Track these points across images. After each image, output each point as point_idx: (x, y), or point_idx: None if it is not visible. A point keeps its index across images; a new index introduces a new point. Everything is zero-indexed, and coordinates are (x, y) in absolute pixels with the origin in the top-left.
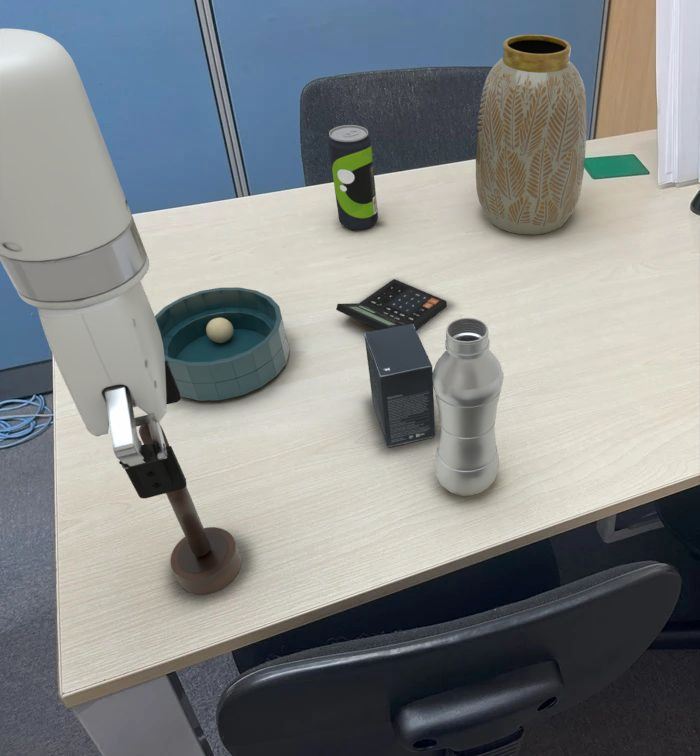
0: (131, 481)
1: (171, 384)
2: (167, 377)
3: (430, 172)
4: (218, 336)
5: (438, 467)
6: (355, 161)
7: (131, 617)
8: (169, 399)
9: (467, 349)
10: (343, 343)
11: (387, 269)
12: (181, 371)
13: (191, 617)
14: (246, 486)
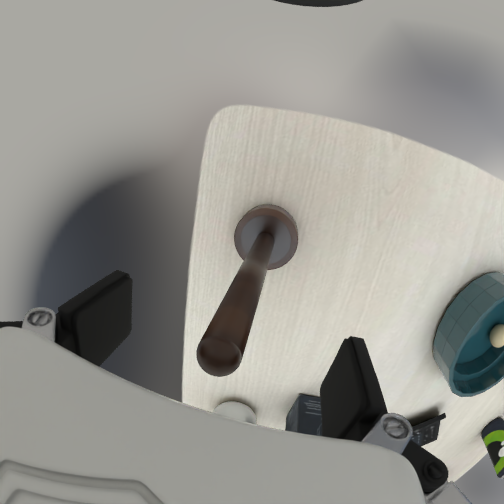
0: (92, 285)
1: (322, 418)
2: (324, 431)
3: (479, 458)
4: (495, 334)
5: (232, 415)
6: (500, 464)
7: (255, 157)
8: (325, 384)
9: None
10: (422, 402)
11: (449, 434)
12: (482, 304)
13: (226, 203)
14: (341, 294)
